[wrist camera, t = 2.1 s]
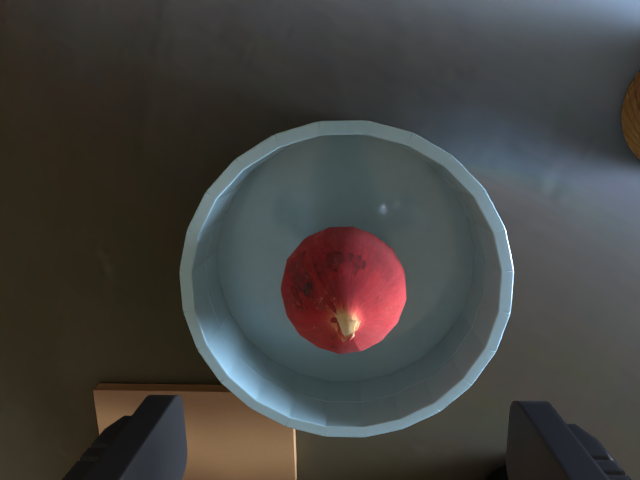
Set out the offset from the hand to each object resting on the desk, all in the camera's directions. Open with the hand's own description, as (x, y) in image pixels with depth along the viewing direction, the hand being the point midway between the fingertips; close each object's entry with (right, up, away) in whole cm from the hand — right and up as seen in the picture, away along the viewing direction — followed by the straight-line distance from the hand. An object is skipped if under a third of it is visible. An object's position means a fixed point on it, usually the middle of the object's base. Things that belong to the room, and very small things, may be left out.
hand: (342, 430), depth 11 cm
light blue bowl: (+1, +3, +14) cm, 14 cm away
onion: (+1, +3, +14) cm, 14 cm away
